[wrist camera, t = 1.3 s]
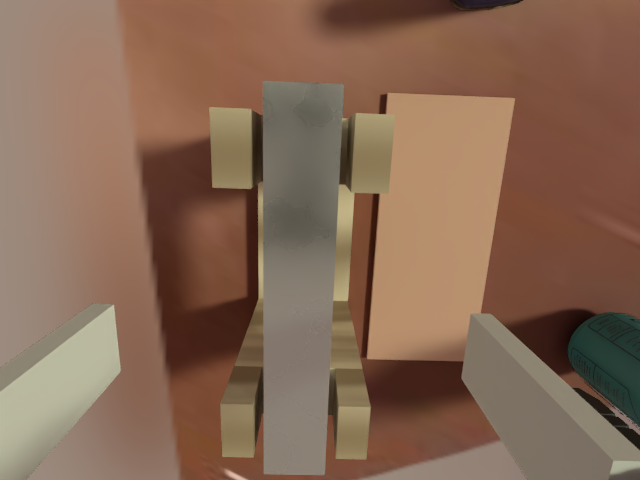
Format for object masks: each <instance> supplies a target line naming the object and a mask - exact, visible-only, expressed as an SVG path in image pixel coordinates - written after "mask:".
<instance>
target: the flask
mask: <svg viewBox="0 0 640 480" xmlns="http://www.w3.org/2000/svg"><path fill="white" fill-rule="evenodd" d="M450 1H451V2H452V4H453V5H454V7H457V8H459V9H461V10H469V11H476V10H482V9H483V10H484V9H493V8H500V7H506V6H507V5H511V4H516V3H519V2H521V1H523V0H450Z"/></svg>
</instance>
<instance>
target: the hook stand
mask: <svg viewBox="0 0 640 480" xmlns="http://www.w3.org/2000/svg"><path fill="white" fill-rule="evenodd" d="M209 112H210V138H211V165H212V188H236V189H251V188H253V187H254V186H256V185H257V184H258V272H259V299H258V302H257V305H256V307H255V310H254V313H253V316H252V318H251V321H250V324H249V327H248V329H247V332H246V335H245V338H244V340H243V343H242V346H241V349H240V351H239V354H238V357H237V360H236V362H235V365H234V368H233V371H232V373H231V376H230V379H229V382H228V385H227V387H226V390H225V393H224V396H223V398H222V401H221V404H220V406H221V432H222V457H254V452H255V447H256V442H257V437H258V432H259V426H260V421H261V416H262V413H264V334H263V115H259V114H258V113H256V112H254V111H252V110H251V109H240V108H215V107H209ZM394 124H395V115H389V114H365V113H355V114H354V115H353V116H352V117H350V118H349V119H342V135H341V155H340V176H339V196H338V216H337V236H336V256H335V276H334V297H333V317H332V337H331V357H330V377H329V398H328V415H333V427H334V441H335V456H336V459H366V457H367V445H368V433H369V421H370V409H371V406H370V402H369V397H368V392H367V388H366V383H365V378H364V374H363V369H362V365H361V360H360V355H359V351H358V346H357V341H356V337H355V332H354V327H353V323H352V318H351V314H350V309H349V304H348V289H349V273H350V256H351V240H352V223H353V206H354V193H379V194H389V183H390V172H391V160H392V148H393V136H394Z"/></svg>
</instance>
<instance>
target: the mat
mask: <svg viewBox="0 0 640 480" xmlns="http://www.w3.org/2000/svg"><path fill="white" fill-rule="evenodd" d="M514 102H515V98H498V97H474V96H450V95H426V94H402V93H387V99H386V111H385V114H389V115H395V124H394V136H393V148H392V160H391V172H390V183H389V194H379V202H378V215H377V227H376V240H375V253H374V266H373V279H372V292H371V305H370V318H369V331H368V344H367V359H384V360H426V361H464V356H465V349H466V342H467V336H468V329H469V322H470V315H471V313H472V314H480V313H481V307H482V301H483V295H484V288H485V282H486V276H487V270H488V264H489V257H490V251H491V245H492V239H493V232H494V226H495V220H496V214H497V208H498V201H499V195H500V189H501V183H502V176H503V170H504V164H505V158H506V152H507V145H508V139H509V133H510V127H511V120H512V114H513V108H514Z"/></svg>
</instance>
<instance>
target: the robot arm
mask: <svg viewBox="0 0 640 480" xmlns="http://www.w3.org/2000/svg"><path fill="white" fill-rule="evenodd" d="M120 372H121V367H120V357H119V348H118V339H117V329H116V320H115V310H114V304H91V305H90V306H88V307H87V308H85V309H84V310H83V311H81V312H80V313H78V314H77V315H75V316H74V317H72V318H71V319H70V320H68V321H67V322H65V323H64V324H62V325H61V326H59V327H58V328H57V329H55V330H54V331H52V332H51V333H49V334H48V335H46V336H45V337H44V338H42V339H41V340H39V341H38V342H36V343H35V344H34V345H32V346H31V347H29V348H28V349H26V350H25V351H23V352H22V353H21V354H19V355H18V356H16V357H15V358H13V359H12V360H11V361H9V362H8V363H6V364H5V365H3V366H2V367H0V480H27V479H28V477H29V476H30V475H31V474H32V473H33V472H34V471H35V469H36V468H37V467H38V466H39V465H40V464H41V462H42V461H43V460H44V459H45V458H46V457H47V456H48V454H49V453H50V452H51V451H52V450H53V449H54V448H55V446H56V445H57V444H58V443H59V442H60V441H61V440H62V438H63V437H64V436H65V435H66V434H67V433H68V432H69V430H70V429H71V428H72V427H73V426H74V425H75V424H76V422H77V421H78V420H79V419H80V418H81V417H82V415H83V414H84V413H85V412H86V411H87V410H88V408H89V407H90V406H91V405H92V404H93V403H94V402H95V400H96V399H97V398H98V397H99V396H100V395H101V394H102V393H103V391H104V390H105V389H106V388H107V387H108V386H109V384H110V383H111V382H112V381H113V380H114V379H115V378H116V376H117V375H118V374H119V373H120ZM461 379H462V380H463V382H464V384H465V385H466V387H467V388H468V390H469V391H470V393H471V394H472V396H473V397H474V399H475V400H476V402H477V404H478V405H479V407H480V408H481V410H482V411H483V413H484V414H485V416H486V417H487V419H488V420H489V422H490V424H491V425H492V427H493V428H494V430H495V431H496V433H497V434H498V436H499V437H500V439H501V440H502V442H503V444H504V445H505V447H506V448H507V449H508V451H509V453H510V454H511V456H512V457H513V459H514V460H515V462H516V463H517V465H518V467H519V468H520V470H521V471H522V473H523V474H524V476H525V477H526V479H527V480H640V435H638V434H637V433H636V432H635V431H634V430H633V429H629V426H628V425H627V424H626V423H625V422H624V421H623V420H621V419H620V418H619V417H616V416H615V414H614V413H613V412H612V411H611V410H610V409H609V408H608V407H606V406H605V405H604V404H603V403H602V402H601V401H600V400H598V399H596V398H595V397H593V396H591V395H590V394H588V393H586V392H584V391H583V390H581V389H579V388H571V387H570V386H569V385H568V384H567V383H566V382H565V381H563V380H562V379H561V378H560V377H559V376H558V375H557V374H556V373H555V372H554V371H553V370H551V369H550V368H549V367H548V366H547V365H546V364H545V363H544V362H543V361H542V360H541V359H539V358H538V357H537V356H536V355H535V354H534V353H533V352H532V351H531V350H530V349H529V348H528V347H526V346H525V345H524V344H523V343H522V342H521V341H520V340H519V339H518V338H517V337H516V336H514V335H513V334H512V333H511V332H510V331H509V330H508V329H507V328H506V327H505V326H504V325H502V324H501V323H500V322H499V321H498V320H497V319H496V318H495V317H494V316H493V315H492V314H472V313H471V315H470V322H469V329H468V336H467V342H466V349H465V356H464V363H463V370H462V377H461Z"/></svg>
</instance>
